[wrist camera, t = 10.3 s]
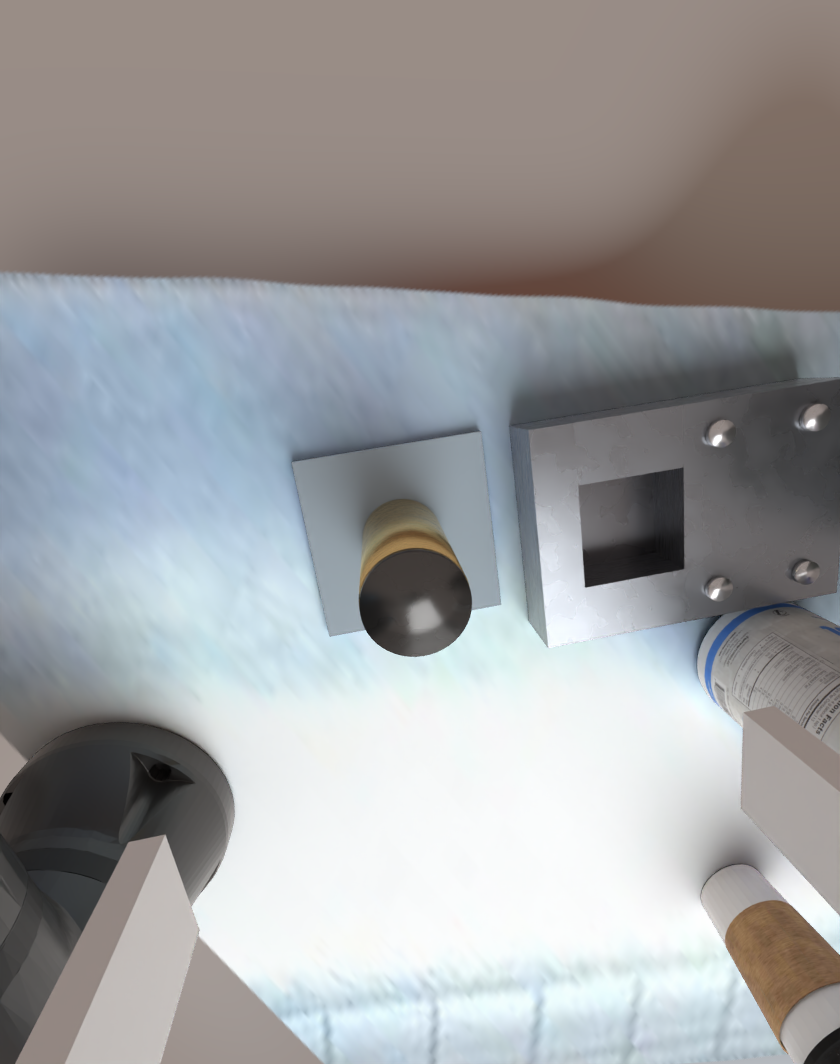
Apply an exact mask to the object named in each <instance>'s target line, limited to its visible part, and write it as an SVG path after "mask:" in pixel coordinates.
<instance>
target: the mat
mask: <svg viewBox="0 0 840 1064" xmlns="http://www.w3.org/2000/svg"><path fill="white" fill-rule="evenodd" d="M292 468H293V472H294V477H295V481H296V486H297V490H298V495H299V499H300V504H301V509H302V513H303V518H304V522H305V527H306V531H307V536H308V540H309V545H310V550H311V554H312V559H313V563H314V568H315V572H316V577H317V581H318V586H319V591H320V595H321V600H322V604H323V609H324V613H325V618H326V623H327V627H328V632H329V636H330V637H331V636H336V635H341V634H347V633H352V632H357V631H363V630H365V628H364V626H363V623H362V620H361V616H360V610H359V585H360V569H361V553H362V538H363V529H364V526H365V523H366V521H367V519H368V518H369V516H370V515H371V514H372V512H373V511H374V510H375V509H377V508H378V507H379V506H381V505H382V504H384V503H386V502H389V501H392V500H396V499H409V500H414V501H417V502H419V503H421V504H423V505H425V506H426V507H428V508H429V509H430V510H431V511H432V512H433V513H434V515H435V516H436V518H437V519H438V521H439V523H440V525H441V527H442V529H443V531H444V533H445V535H446V537H447V539H448V541H449V543H450V545H451V547H452V549H453V551H454V553H455V555H456V557H457V559H458V561H459V563H460V565H461V567H462V569H463V571H464V573H465V575H466V577H467V580H468V583H469V586H470V590H471V595H472V610H475V609H481V608H486V607H491V606H497V605H501V599H500V591H499V582H498V573H497V565H496V556H495V547H494V539H493V530H492V521H491V513H490V504H489V495H488V487H487V478H486V469H485V461H484V452H483V443H482V435H481V431H475V432H469V433H463V434H457V435H451V436H445V437H439V438H432V439H426V440H420V441H414V442H408V443H402V444H396V445H390V446H384V447H377V448H371V449H365V450H359V451H353V452H347V453H341V454H335V455H329V456H322V457H316V458H310V459H304V460H298V461H293V462H292Z"/></svg>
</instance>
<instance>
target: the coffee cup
mask: <svg viewBox="0 0 840 1064" xmlns="http://www.w3.org/2000/svg"><path fill="white" fill-rule="evenodd" d="M701 901H702V905H703V907H704V909H705V911H706V912H707V914H708V916H709V918H710V919H711V921H712V923H713V924H714V926H715V928H716V930H717V931H718V933H719V935H720V936H721V938H722V940H723V942H724V943H725V945H726V948H727V950H728V951H729V953H730V955H731V957H732V959H733V960H734V962H735V964H736V966H737V968H738V969H739V971H740V973H741V975H742V977H743V979H744V980H745V982H746V984H747V986H748V988H749V989H750V991H751V993H752V995H753V997H754V998H755V1000H756V1002H757V1004H758V1006H759V1007H760V1009H761V1011H762V1013H763V1015H764V1016H765V1018H766V1020H767V1022H768V1024H769V1025H770V1027H771V1029H772V1031H773V1033H774V1034H775V1036H776V1038H777V1040H778V1042H779V1044H780V1045H781V1047H782V1049H783V1050H784V1051H785V1052H786V1053H787V1054H789V1055H790V1057H791V1059H792V1060H793V1062H794V1064H840V955H839V954H838V953H837V952H836V951H835V950H834V949H833V948H832V947H831V946H830V945H829V944H828V943H827V942H826V941H825V940H824V938H823V937H822V936H821V935H820V934H819V933H818V932H817V931H816V930H815V929H814V928H813V927H812V926H811V925H810V924H809V923H808V922H807V921H806V920H805V919H804V918H803V917H802V916H801V915H800V914H799V913H798V912H797V911H796V910H795V909H794V908H793V907H792V906H791V905H790V904H789V903H788V902H787V901H786V900H785V899H784V898H783V897H782V896H781V895H780V894H779V892H778V891H777V890H776V889H775V888H774V887H773V886H772V885H771V884H770V883H769V882H768V881H767V880H766V879H765V878H764V877H763V875H762V874H761V873H760V872H759V871H758V870H757V869H755V868H753V867H751V866H749V865H743V864H738V865H732V866H728V867H725V868H723V869H721V870H719V871H718V872H716V873H715V874H714V875H712V876H711V877H710V878H709V880H708V881H707V882H706V884H705V885H704V887H703V889H702V893H701Z"/></svg>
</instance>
